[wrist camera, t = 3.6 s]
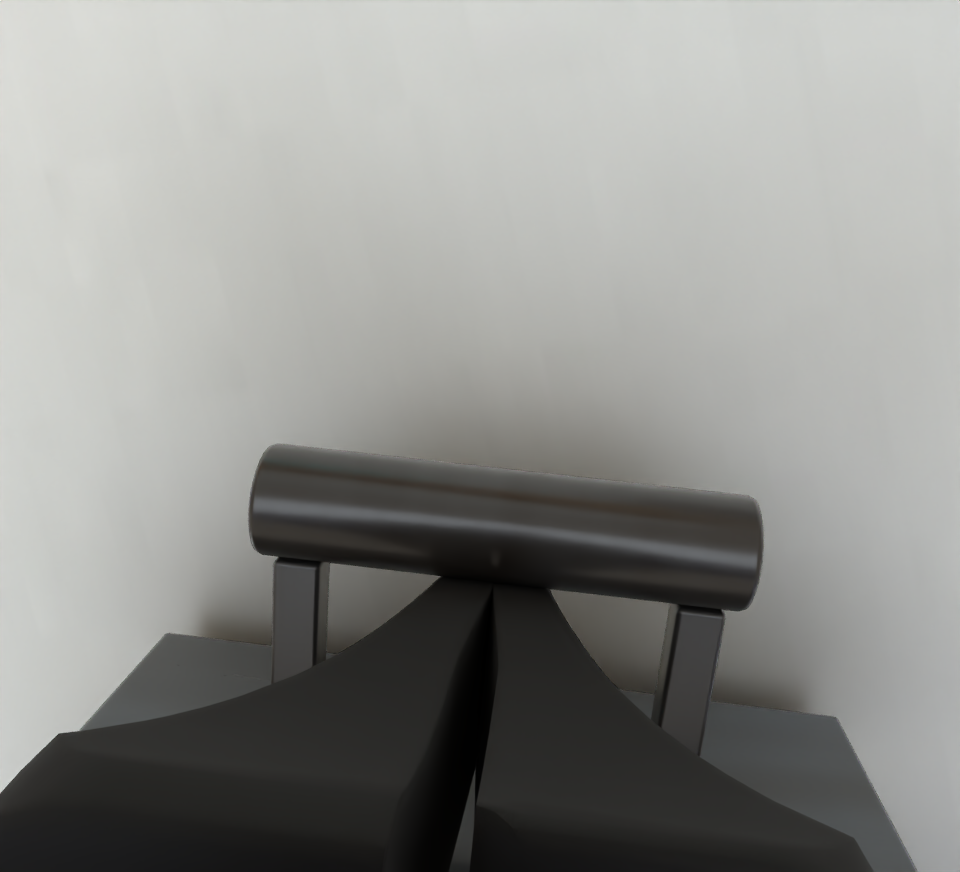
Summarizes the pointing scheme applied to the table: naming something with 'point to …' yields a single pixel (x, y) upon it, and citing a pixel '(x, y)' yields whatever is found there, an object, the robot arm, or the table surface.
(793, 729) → the drawer
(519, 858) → the robot arm
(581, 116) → the table surface
